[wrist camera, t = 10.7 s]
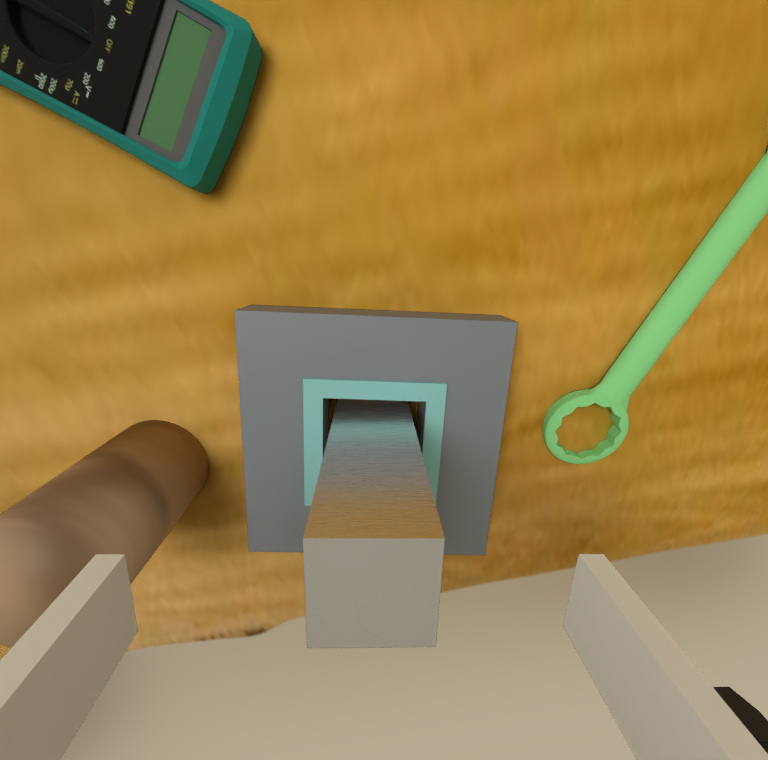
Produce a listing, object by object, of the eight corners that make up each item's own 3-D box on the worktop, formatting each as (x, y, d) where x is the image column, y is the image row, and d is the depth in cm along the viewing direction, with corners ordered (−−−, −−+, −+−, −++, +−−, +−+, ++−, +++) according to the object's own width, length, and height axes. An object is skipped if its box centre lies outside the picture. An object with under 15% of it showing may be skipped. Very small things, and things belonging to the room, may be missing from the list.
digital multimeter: (-54, -139, 17) (-140, -221, 14) (272, 54, 19) (255, 18, 16) (-84, 43, 19) (-166, 4, 16) (218, 201, 21) (194, 191, 18)
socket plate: (261, 521, 26) (247, 553, 23) (251, 304, 22) (233, 310, 19) (473, 525, 26) (486, 557, 24) (500, 315, 23) (519, 322, 20)
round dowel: (119, 503, 25) (-36, 651, 16) (106, 418, 24) (-77, 524, 14) (212, 505, 25) (116, 651, 16) (205, 421, 24) (93, 528, 14)
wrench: (866, 97, 21) (798, 35, 20) (916, 80, 19) (844, 10, 18) (585, 471, 26) (520, 435, 25) (602, 486, 24) (533, 448, 23)
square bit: (339, 454, 25) (306, 648, 12) (339, 393, 24) (302, 538, 11) (403, 454, 25) (435, 647, 12) (406, 394, 24) (444, 538, 11)
